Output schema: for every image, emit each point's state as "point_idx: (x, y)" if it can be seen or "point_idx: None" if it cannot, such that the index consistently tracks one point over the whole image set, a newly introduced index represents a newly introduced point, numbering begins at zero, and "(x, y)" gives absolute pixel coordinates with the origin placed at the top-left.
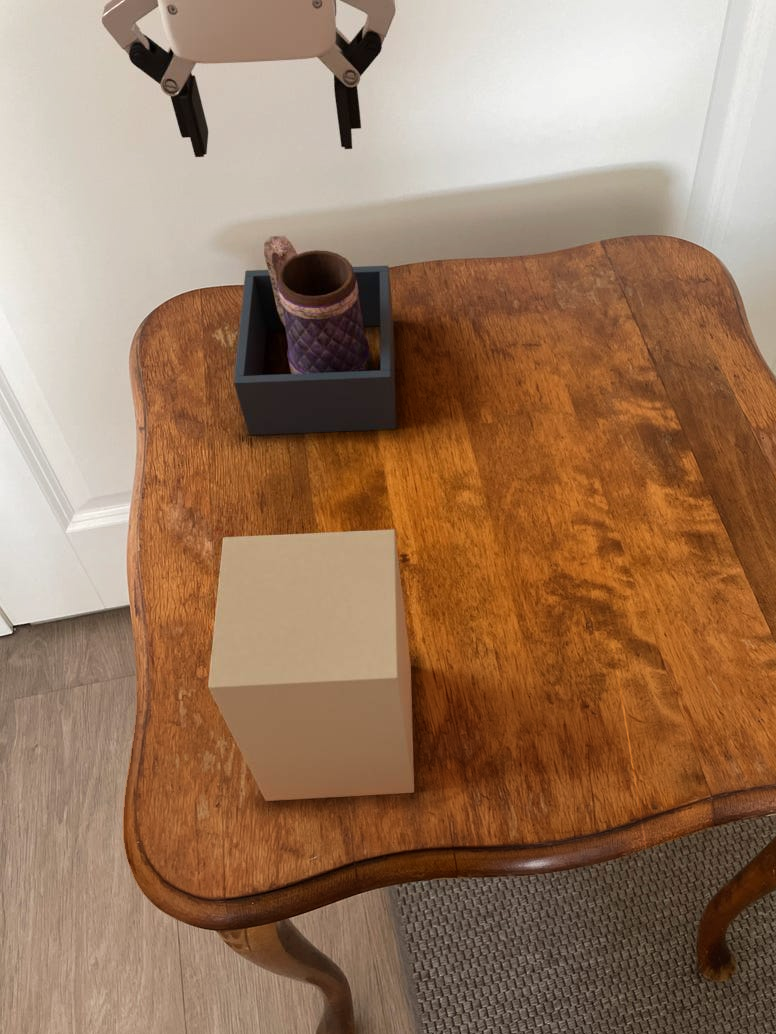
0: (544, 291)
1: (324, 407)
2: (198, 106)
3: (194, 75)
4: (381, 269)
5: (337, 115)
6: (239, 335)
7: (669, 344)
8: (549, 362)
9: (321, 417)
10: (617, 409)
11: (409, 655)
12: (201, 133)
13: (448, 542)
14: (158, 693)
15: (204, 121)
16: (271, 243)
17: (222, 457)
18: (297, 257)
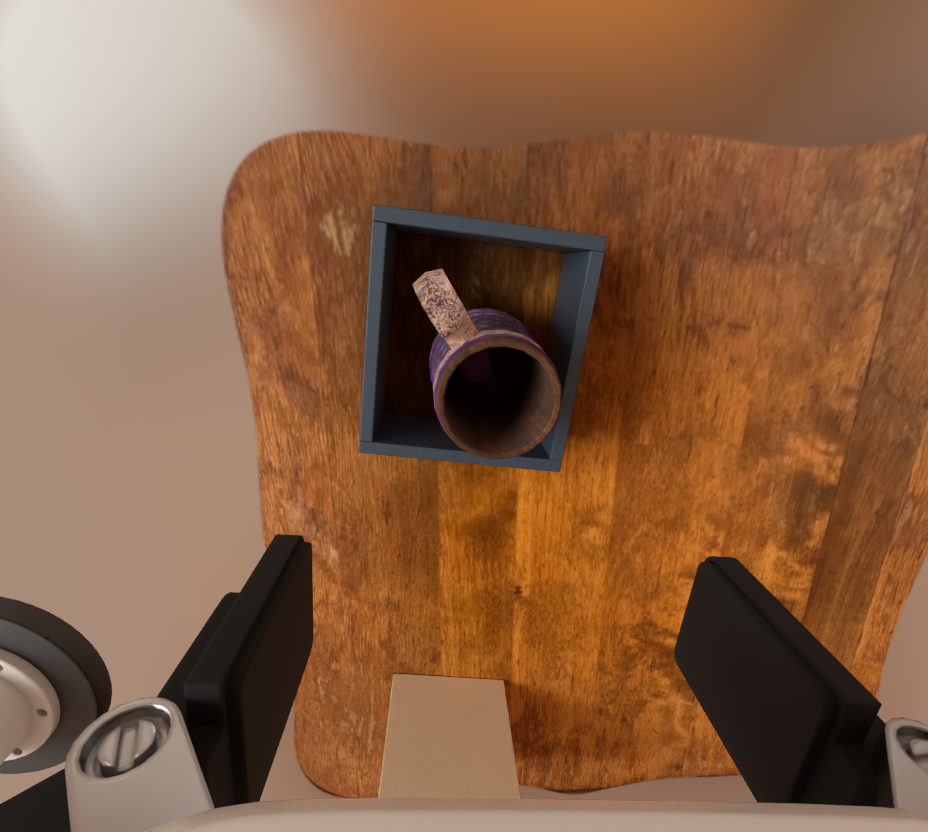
0: (800, 218)
1: None
2: (276, 681)
3: (241, 686)
4: (594, 246)
5: (723, 742)
6: (365, 363)
7: (899, 355)
8: (747, 361)
9: None
10: (787, 447)
11: (505, 695)
12: (295, 681)
13: (561, 579)
14: None
15: (298, 592)
16: (430, 314)
17: (343, 447)
18: (473, 353)
